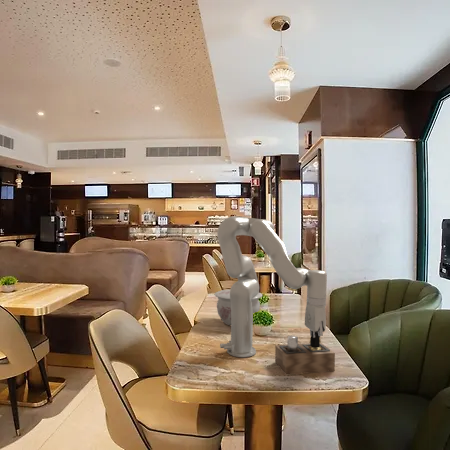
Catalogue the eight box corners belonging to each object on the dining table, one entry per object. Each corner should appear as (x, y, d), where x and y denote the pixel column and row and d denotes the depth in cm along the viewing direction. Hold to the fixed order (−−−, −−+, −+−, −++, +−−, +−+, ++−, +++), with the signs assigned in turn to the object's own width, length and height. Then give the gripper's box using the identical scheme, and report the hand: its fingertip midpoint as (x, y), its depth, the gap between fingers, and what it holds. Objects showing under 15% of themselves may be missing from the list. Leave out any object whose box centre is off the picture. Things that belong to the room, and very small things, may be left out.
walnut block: (285, 374, 132) (286, 355, 132) (275, 362, 144) (275, 344, 144) (334, 370, 136) (334, 352, 136) (320, 359, 148) (320, 341, 148)
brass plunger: (313, 367, 139) (313, 350, 139) (308, 363, 143) (309, 346, 143) (322, 367, 140) (322, 349, 140) (318, 363, 144) (318, 346, 144)
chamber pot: (264, 331, 185) (265, 292, 185) (212, 330, 186) (213, 291, 186) (260, 317, 213) (260, 283, 213) (215, 316, 214) (215, 282, 214)
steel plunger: (289, 356, 137) (289, 339, 137) (285, 353, 141) (286, 335, 141) (299, 356, 138) (299, 338, 138) (295, 352, 142) (295, 335, 142)
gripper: (299, 297, 148) (298, 340, 148) (315, 306, 133) (314, 354, 133) (316, 297, 149) (315, 340, 149) (334, 305, 135) (332, 353, 135)
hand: (314, 346), depth 141 cm, fingers closed
